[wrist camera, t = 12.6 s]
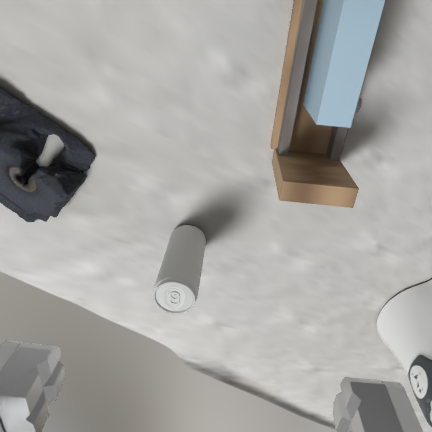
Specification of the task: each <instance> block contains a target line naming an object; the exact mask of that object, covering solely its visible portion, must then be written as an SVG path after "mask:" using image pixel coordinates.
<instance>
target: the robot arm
mask: <svg viewBox="0 0 432 432" xmlns="http://www.w3.org/2000/svg"><path fill="white" fill-rule="evenodd" d="M377 332H378V334H379V336H380V338H381V339H382V341H383V342H384V343H385V344H386V345H387V346H388V347H389V349H390V350H391V351H392V352H393V354H394V355H395V357H396V358H397V359H398V361H399V362H400V364H401V365H402V367H403V369H404V370H405V372H406V373H407V375H408V377H409V380H410V383H411V386H412V389H413V392H414V395H415V397H416V399H417V401H418V403H419V406H420V408H421V410H422V412H423V414H424V416H425V418H426V420H427V422H428V423H429V425H430V426H431V427H432V279H431V280H430V281H428V282H426V283H423V284H420V285H417V286H414V287H412V288H409V289H407V290H405V291H403V292H401V293H399V294H398V295H396V296H395V297H394V298H392V299H391V300H390V301H389V302H388V303H387V304H386V305H385V306H384V307H383V309H382V310H381V312H380V314H379V316H378V319H377ZM60 357H61V351H60V347H55V346H47V345H39V344H32V343H24V342H16V341H7V340H5V341H4V342H3V343H1V344H0V432H41V431H42V429H43V427H44V425H45V423H46V421H47V419H48V417H49V411H48V406H49V405H50V404H52V403H53V402H54V401H56V400H57V398H58V396H59V393H60V392H61V389H62V385H63V382H64V375H65V373H64V372H65V371H64V365H63V364H62V363H61V362H60V361H59V358H60ZM341 389H342V392H340V393H339V394H337V395H336V398H335V401H334V408H333V415H334V423H335V428H336V431H337V432H423V430H422V428H421V426H420V423H419V421H418V419H417V416H416V414H415V412H414V410H413V407H412V405H411V403H410V401H409V398H408V396H407V394H406V391H405V389H404V387H403V386H402V385H401V384H400V383H397V382H386V381H380V380H371V379H360V378H349V377H345V378H344V379H343V380H342V382H341Z"/></svg>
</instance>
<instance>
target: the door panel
mask: <svg viewBox="0 0 432 432" xmlns="http://www.w3.org/2000/svg"><path fill="white" fill-rule="evenodd" d="M384 3H385V0H324V1H323V6H322V11H321V16H320V21H319V26H318V31H317V36H316V41H315V47H314V52H313V57H312V62H311V67H310V72H309V77H308V82H307V87H306V92H305V97H304V102H303V105H304V106H305V108H306V110H307V111H308V113H309V114H310V116H311V117H312V119H313V120H314V122H315V123H316V124H317V125H327V126H337V127H347V128H351V125H352V121H353V117H354V114H355V112H358V111H359V110H360V107H361V98H359V95H360V91H361V88H362V84H363V80H364V77H365V73H366V69H367V66H368V62H369V58H370V55H371V51H372V47H373V44H374V40H375V36H376V33H377V29H378V25H379V21H380V18H381V14H382V10H383V7H384Z"/></svg>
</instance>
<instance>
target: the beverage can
mask: <svg viewBox="0 0 432 432" xmlns="http://www.w3.org/2000/svg"><path fill="white" fill-rule="evenodd" d="M205 245H206V238H205V235H204V233H203V232H202V231H201V230H200V229H199V228H197V227H195V226H191V225H183V226H179V227H177V228H176V229H175V230H174V231H173V232H172V234H171V237H170V240H169V243H168V246H167V250H166V253H165V256H164V259H163V262H162V265H161V268H160V271H159V274H158V278H157V281H156V284H155V287H154V301H155V303H156V305H157V306H158V307H159V308H160V309H162V310H163V311H166V312H168V313H172V314H181V313H185V312H187V311H189V310H190V309H192V307H193V306H194V304H195V301H196V299H197V295H198V289H199V283H200V277H201V270H202V264H203V257H204V251H205Z"/></svg>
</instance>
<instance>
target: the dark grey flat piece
mask: <svg viewBox="0 0 432 432" xmlns="http://www.w3.org/2000/svg"><path fill="white" fill-rule="evenodd" d="M51 134H55V135H57V136H59V137H60V139H61V140H62V141H63V143H64V145H65V146H64V149H63V150H62V151H61V153H60V154H59V156H58V157H57V158H55V159H54V160H53V164H54V165H51V166H48V167H39V166H38V164H37V163H36V157H37V155H40V154H41V153H42V151H43V148H44V145H45V142H46V139H47V137H48V135H51ZM93 159H95V156H94V154H93V152H92V150H91V148H89V147H88V146H86V145H85V144H83V143H81V142H80V141H79V140H78V139H77V138H75V137H73V136H71V135H69V134H68V133H67V132H66V131H65V130H63V129H62V128H60V127H59V126H58V125H56V124H55V123H54V122H52V121H51V120H50V119H49V118H47V117H46V116H44V115H41V114H40V112H38V111H37V110H35V109H33V108H31V107H30V106H29V105H27V104H25V103H22V102H21V101H20V100H19V99H18V98H15V97H13V96H11V95H10V94H8V93H7V92H5V91H4V90H3V89H1V88H0V203H2V204H3V205H4V206H5V207H7V208H9V209H10V210H12V211H13V212H15V213H17V215H18V216H19V217H21V218H23V219H24V220H25V221H27V222H34V221H35V220H36V219H41V220H43V221H47V220H48V218H49V217H50V216H53V217H57V216H58V214H59V212H60V211H61V209H62V208H63V207H64V206H65V205H66V203H67V202H68V201H69V200H70V198H71V197H72V196H73V195H74V193H75V192H76V191H77V189H78V188H79V187H80V186H81V185H82V184H83V181H84V178H85V177H86V175H85V174H84V171H87V170H89V168H90V167H89V165H90V164H91V163H92V160H93ZM81 170H82V171H81ZM80 171H81V173H80Z"/></svg>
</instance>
